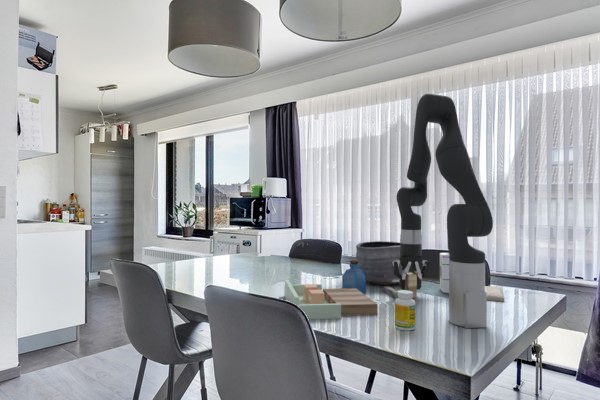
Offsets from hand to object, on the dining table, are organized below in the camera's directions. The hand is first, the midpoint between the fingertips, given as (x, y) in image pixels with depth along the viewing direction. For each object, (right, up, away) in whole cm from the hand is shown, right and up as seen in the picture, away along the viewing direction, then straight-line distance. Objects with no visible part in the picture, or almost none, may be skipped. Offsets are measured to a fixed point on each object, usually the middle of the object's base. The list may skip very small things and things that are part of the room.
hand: (410, 289), depth 139 cm
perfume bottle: (-20, -3, +4) cm, 20 cm away
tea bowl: (-5, -3, +24) cm, 24 cm away
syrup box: (+17, -3, +9) cm, 19 cm away
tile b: (-34, +1, -11) cm, 36 cm away
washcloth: (+29, -4, +4) cm, 29 cm away
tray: (-36, -2, -16) cm, 39 cm away
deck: (-24, -2, -14) cm, 28 cm away
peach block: (-33, +1, -19) cm, 38 cm away
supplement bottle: (-12, -2, -36) cm, 38 cm away
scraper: (-3, -3, 0) cm, 4 cm away
